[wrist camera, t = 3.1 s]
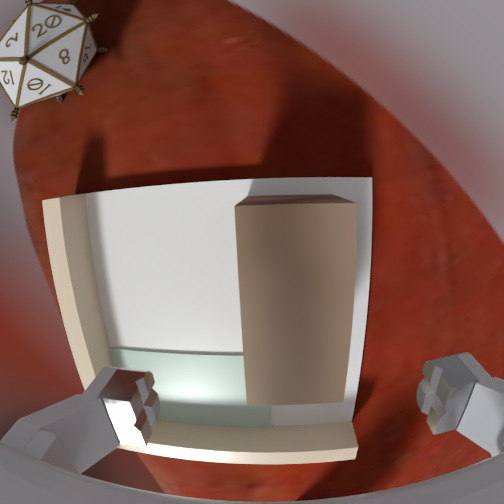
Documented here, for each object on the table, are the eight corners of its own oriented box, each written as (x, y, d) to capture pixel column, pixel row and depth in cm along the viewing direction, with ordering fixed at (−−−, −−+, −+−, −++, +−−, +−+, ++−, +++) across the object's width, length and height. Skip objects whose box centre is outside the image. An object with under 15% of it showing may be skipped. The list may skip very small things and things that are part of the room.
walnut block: (332, 194, 18) (357, 203, 13) (328, 345, 21) (343, 401, 15) (247, 196, 19) (234, 205, 13) (254, 348, 21) (246, 405, 15)
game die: (98, 56, 21) (82, -42, 12) (134, 105, 19) (116, -25, 10) (6, 105, 18) (-33, 14, 9) (20, 169, 16) (-46, 55, 7)
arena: (368, 177, 19) (388, 178, 15) (347, 427, 23) (355, 459, 20) (74, 195, 20) (42, 200, 17) (123, 418, 25) (107, 445, 21)
